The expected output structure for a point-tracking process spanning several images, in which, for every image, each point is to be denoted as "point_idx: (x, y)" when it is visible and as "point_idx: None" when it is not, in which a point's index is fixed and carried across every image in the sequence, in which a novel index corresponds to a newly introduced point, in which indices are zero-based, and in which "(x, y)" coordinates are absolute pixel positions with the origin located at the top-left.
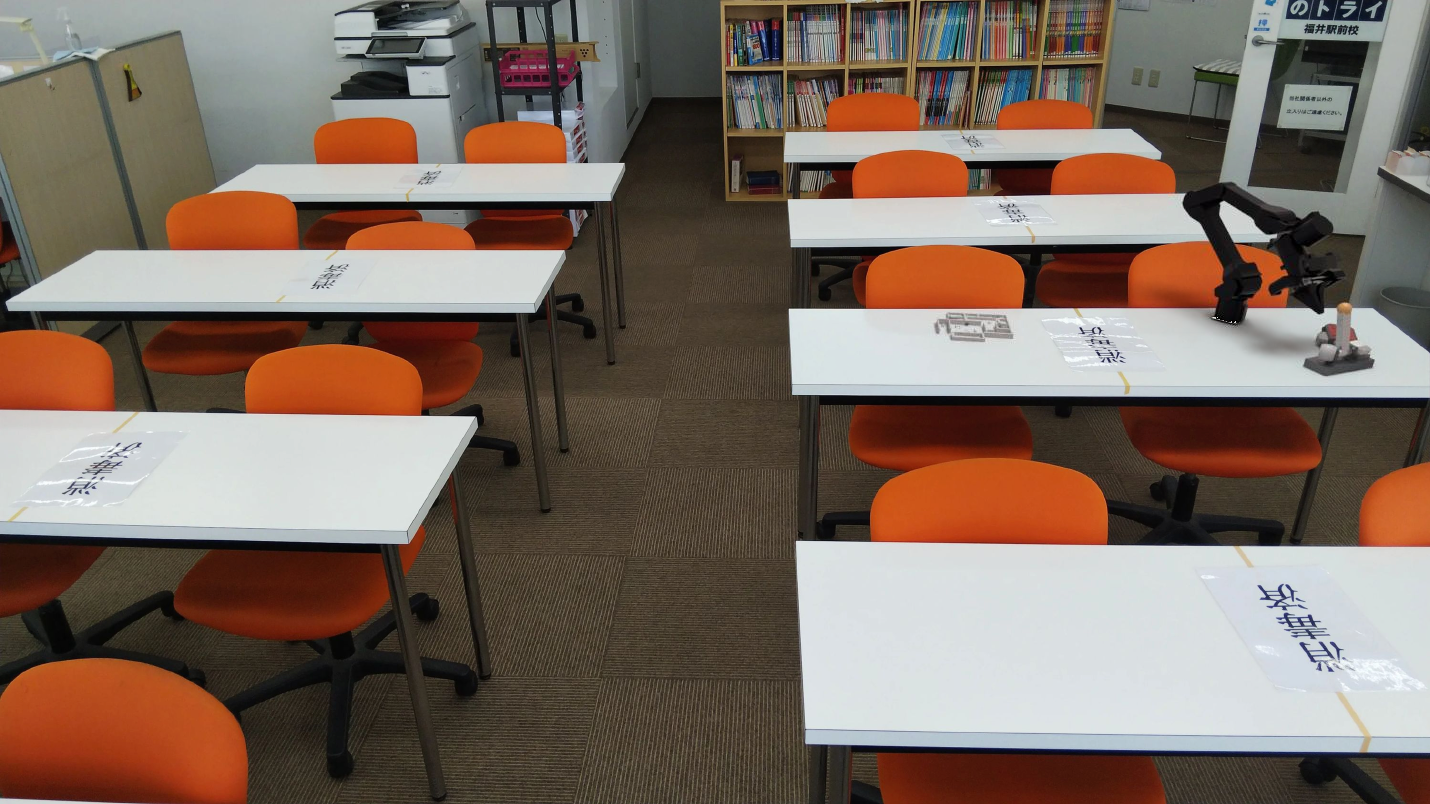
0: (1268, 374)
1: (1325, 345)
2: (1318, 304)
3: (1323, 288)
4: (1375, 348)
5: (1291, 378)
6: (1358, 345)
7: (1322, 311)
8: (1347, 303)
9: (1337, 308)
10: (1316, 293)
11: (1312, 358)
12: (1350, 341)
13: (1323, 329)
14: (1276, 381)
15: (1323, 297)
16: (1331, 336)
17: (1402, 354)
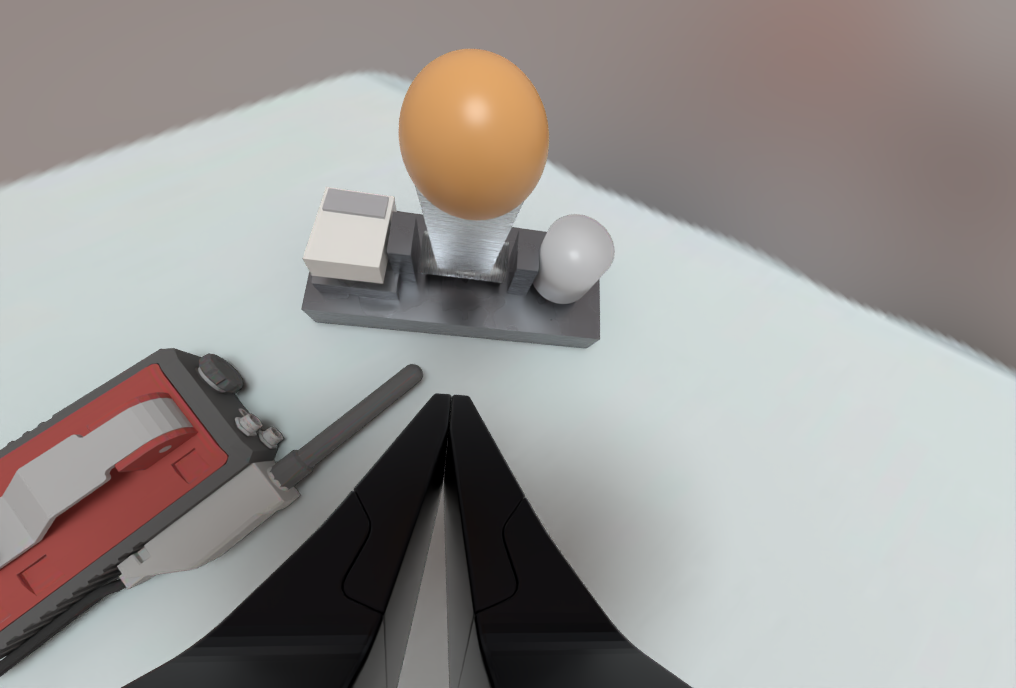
0: (762, 350)
1: (585, 262)
2: (491, 447)
3: (207, 673)
4: (46, 346)
5: (712, 294)
6: (360, 227)
7: (458, 398)
8: (484, 58)
9: (534, 184)
10: (386, 645)
11: (571, 325)
12: (362, 264)
13: (31, 642)
14: (776, 300)
15: (342, 507)
16: (211, 471)
17: (19, 244)
